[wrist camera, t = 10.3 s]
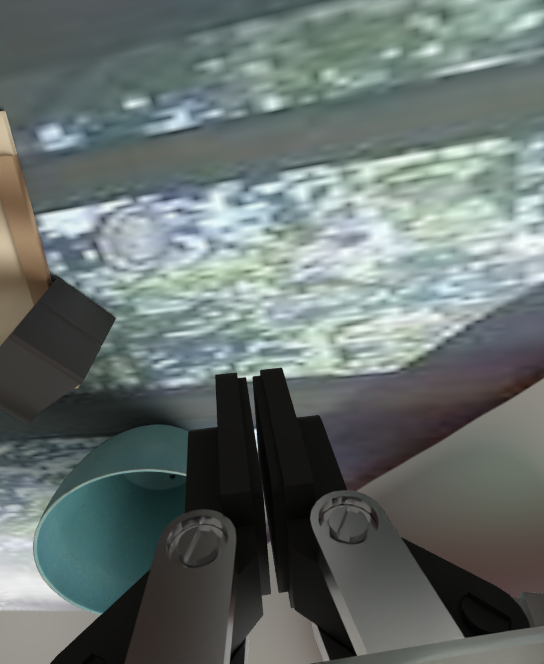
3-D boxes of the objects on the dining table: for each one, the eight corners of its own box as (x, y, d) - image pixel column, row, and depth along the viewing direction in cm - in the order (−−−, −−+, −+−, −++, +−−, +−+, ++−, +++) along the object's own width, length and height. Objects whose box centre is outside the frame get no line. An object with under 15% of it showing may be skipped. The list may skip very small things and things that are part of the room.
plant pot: (36, 473, 50) (-10, 579, 39) (133, 352, 45) (112, 433, 34) (179, 537, 57) (173, 642, 46) (277, 437, 52) (296, 528, 41)
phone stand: (116, 316, 43) (49, 385, 48) (58, 274, 41) (-7, 352, 46) (84, 381, 36) (8, 455, 41) (10, 335, 33) (-61, 420, 38)
